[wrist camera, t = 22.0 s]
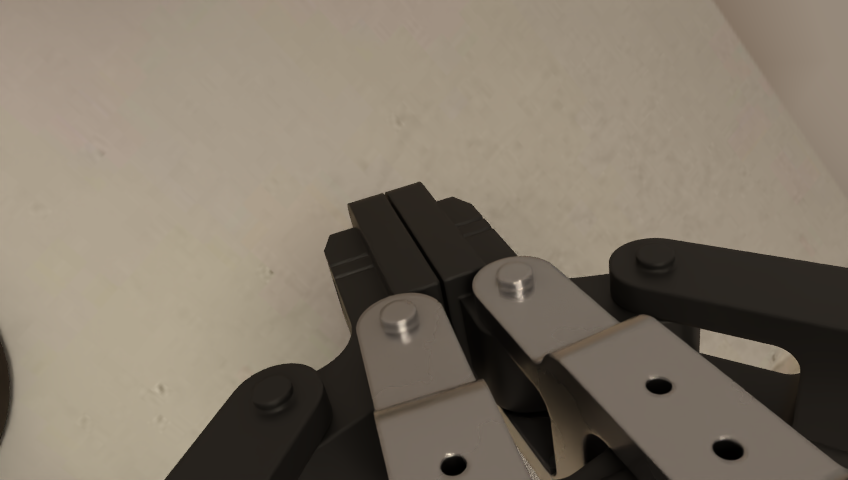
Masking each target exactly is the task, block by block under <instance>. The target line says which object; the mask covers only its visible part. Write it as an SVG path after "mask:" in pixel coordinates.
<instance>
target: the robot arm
mask: <svg viewBox="0 0 848 480" xmlns="http://www.w3.org/2000/svg"><path fill="white" fill-rule="evenodd" d="M348 210H349V214H350V218H351V222H352V225H353V228H351V229H348V230H345V231H341V232H338V233H335V234H332V235H330V236H329V239H328V242H327V244H326V247H325V250H324V252H325V256H326V259H327V262H328V265H329V269H330V272H331V275H332V278H333V282H334V285H335V288H336V291H337V295H338V298H339V301H340V304H341V308H342V311H343V314H344V317H345V319H346V322H347V325H348V328H349V330H350V333H351V338H350V341H349V343H348V345H347V346H346V348H345V349H344V350H343V351H342V353H341V354H340V355H339V356H338V357H337V358H335V359H334V360H333V361H332V362H330V363H329V364H327V365H326V366H324V367H323V368H321V369H319V370H318V371H316V370H314V369H313V368H311V367H309V366H306V365H303V364H295V363H289V364H281V365H276V366H272V367H269V368H266V369H264V370H262V371H260V372H258V373H256V374H254V375H252V376H251V377H249V378H248V379H247V380H245V381H244V382H243V383H242V384H241V385H239V387H238V388H237V389H236V390H235V391H234V392H233V393H232V395H231V396H230V397H229V399H228V400H227V401H226V402H225V404H224V405H223V406H222V407H221V409H220V410H219V411H218V412H217V414H216V415H215V416H214V418H213V419H212V420H211V421H210V423H209V424H208V425H207V426H206V428H205V429H204V430H203V431H202V433H201V434H200V435H199V437H198V438H197V439H196V440H195V442H194V443H193V444H192V445H191V447H190V448H189V449H188V451H187V452H186V453H185V454H184V456H183V457H182V458H181V459H180V461H179V462H178V463H177V464H176V466H175V467H174V468H173V470H172V471H171V472H170V473H169V475H168V476H167V477H166V478H165V480H532V479H531V477H530V475H529V473H528V470H527V468H526V466H525V464H524V462H523V460H522V458H521V456H520V453H519V451H518V449H519V450H520V452H521V453H522V454H523V456H524V457H525V459H526V460H527V461H528V463H529V464H530V466H531V467H532V469H533V470H534V471H535V473H536V474H537V476H538V477H539V478H540V480H848V268H845V267H839V266H832V265H826V264H820V263H814V262H808V261H801V260H795V259H789V258H783V257H777V256H770V255H764V254H758V253H752V252H746V251H739V250H733V249H727V248H721V247H715V246H708V245H702V244H696V243H690V242H684V241H677V240H671V239H663V238H648V239H641V240H636V241H632V242H629V243H627V244H624V245H623V246H621V247H619V248H618V249H617V250H615V251H614V252H613V254H612V255H611V257H610V260H609V274H604V275H596V276H588V277H580V278H567V277H566V276H565V275H564V274H563V273H562V272H561V271H559V270H558V269H557V268H556V267H555V266H554V265H552V264H551V263H549V262H547V261H545V260H543V259H540V258H536V257H531V256H517V255H516V254H515V252H514V251H513V250H512V249H511V248H510V247H509V246H508V245H507V244H506V242H505V241H504V240H503V239H502V238H501V237H500V236H499V235H498V233H497V232H496V231H495V230H494V229H492V228H491V226H490V224H489V223H488V222H487V221H486V220H485V219H483V217H482V215H481V214H480V213H479V212H478V211H477V210H476V209H475V208H474V206H473V205H472V204H470V203H467V202H465V201H462V200H460V199H457V198H454V197H450V198H447V199H443V200H440V201H437V202H436V200H435V199H434V198H433V197H432V195H431V194H430V193H429V192H428V190H427V189H426V188H425V186H424V185H423V184H422V183H421V182H417V183H414V184H411V185H407V186H404V187H401V188H398V189H394V190H391V191H388V192H385V195H384V194H383V193H381V194H378V195H375V196H371V197H368V198H365V199H362V200H358V201H355V202H352V203H349V204H348ZM700 328H701V329H705V330H709V331H714V332H718V333H722V334H727V335H731V336H736V337H740V338H744V339H749V340H753V341H757V342H762V343H766V344H770V345H774V346H778V347H780V348H783V349H785V350H786V351H788V352H789V353H791V354H792V355H793V356H794V357H795V358H796V360H797V361H798V363H799V365H800V373H799V374H791V375H790V374H783V373H778V372H774V371H770V370H766V369H762V368H758V367H754V366H750V365H746V364H742V363H738V362H734V361H730V360H726V359H722V358H718V357H714V356H710V355H706V354H702V353H699V346H700ZM516 446H517V447H518V449H517V447H516Z"/></svg>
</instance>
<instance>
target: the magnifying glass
mask: <svg viewBox="0 0 848 480" xmlns="http://www.w3.org/2000/svg"><path fill="white" fill-rule="evenodd" d="M9 382H10V381H9V374H8V366H7V361H6V358H5V354H4V351H3V347H2V345H1V342H0V438H1V435H2V432H3V429H4V425H5V422H6V418H7V413H8V406H9Z"/></svg>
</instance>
